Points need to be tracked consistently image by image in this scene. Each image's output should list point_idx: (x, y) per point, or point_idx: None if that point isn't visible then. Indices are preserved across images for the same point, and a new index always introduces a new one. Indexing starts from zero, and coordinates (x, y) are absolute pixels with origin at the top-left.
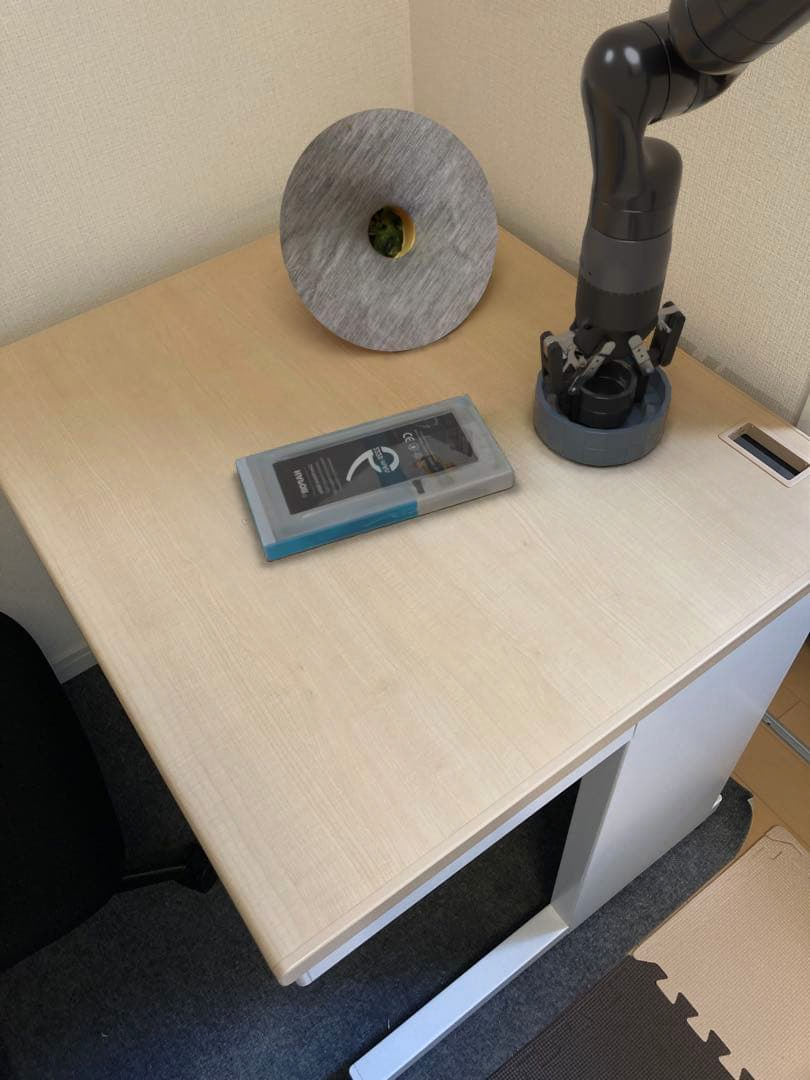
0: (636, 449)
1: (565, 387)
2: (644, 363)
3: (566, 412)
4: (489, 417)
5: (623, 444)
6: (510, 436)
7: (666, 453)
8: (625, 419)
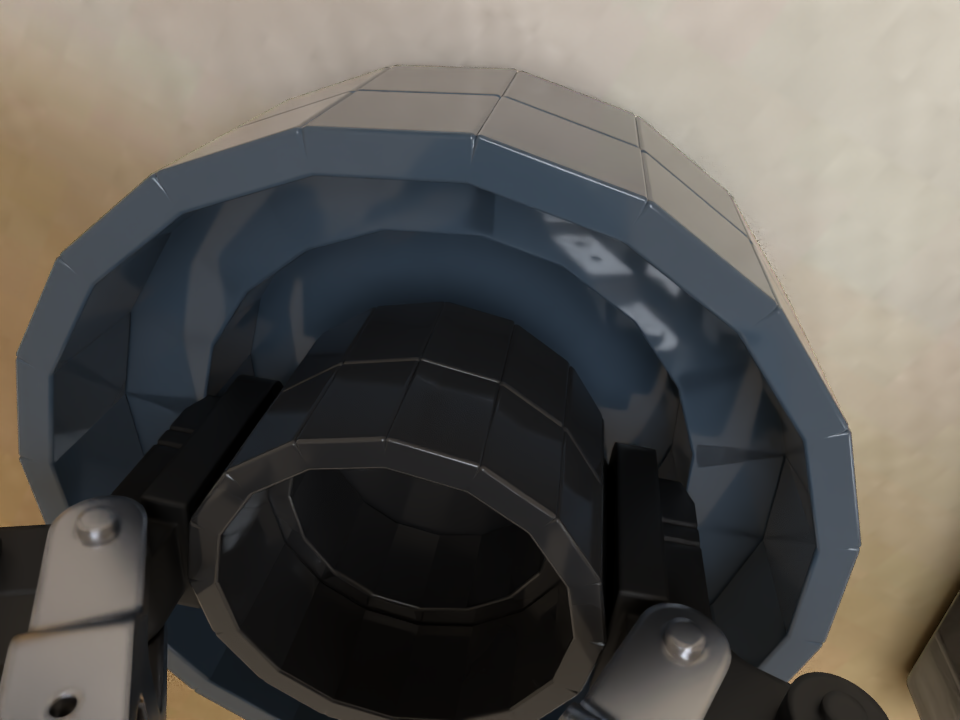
0: (429, 81)
1: (728, 687)
2: (89, 602)
3: (675, 501)
4: (853, 615)
5: (526, 115)
6: (864, 504)
7: (246, 46)
8: (374, 312)
